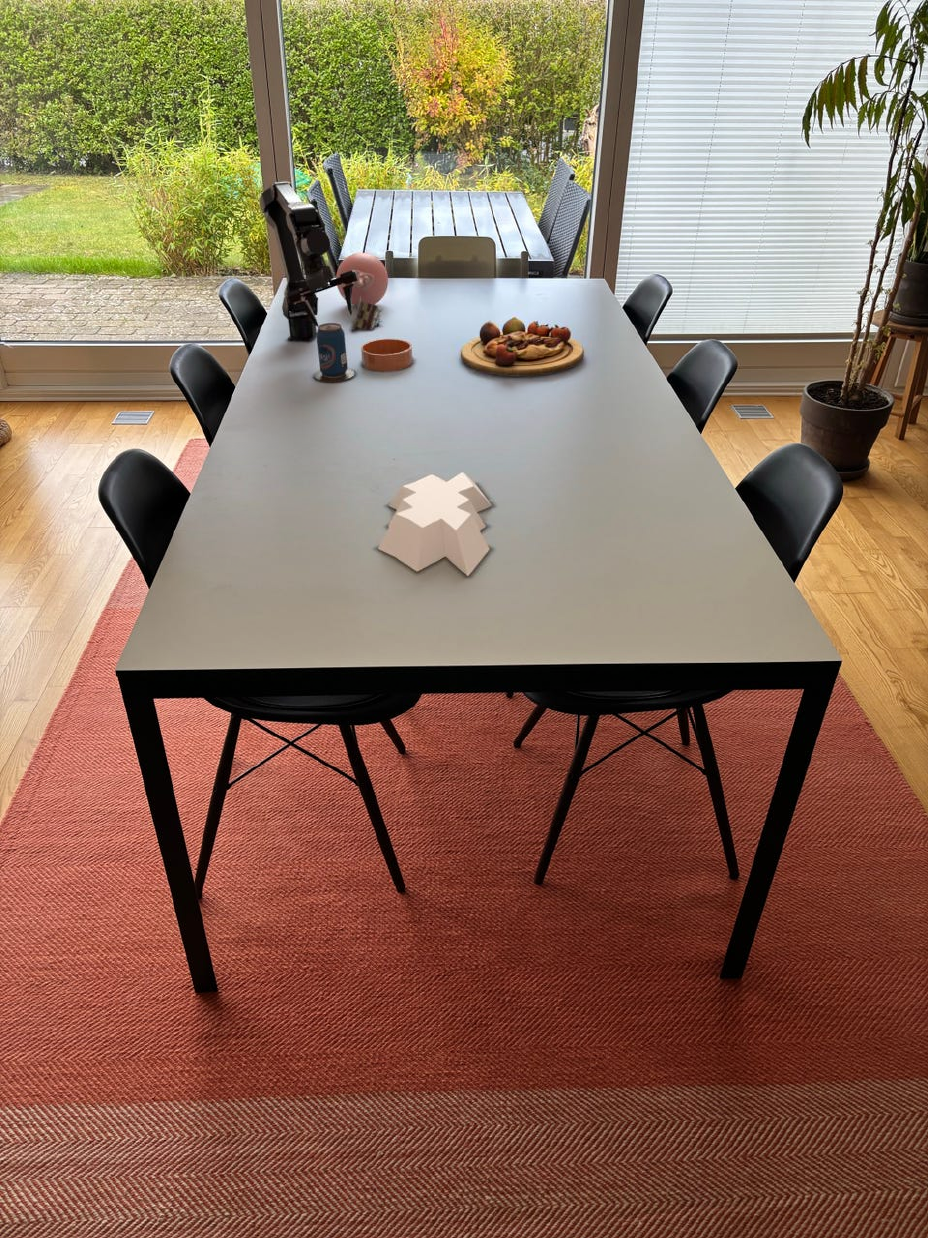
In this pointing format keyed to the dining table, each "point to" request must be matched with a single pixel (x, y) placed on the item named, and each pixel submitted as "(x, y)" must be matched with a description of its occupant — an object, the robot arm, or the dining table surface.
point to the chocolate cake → (366, 316)
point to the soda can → (332, 350)
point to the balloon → (365, 278)
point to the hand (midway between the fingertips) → (334, 320)
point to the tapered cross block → (437, 523)
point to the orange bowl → (386, 354)
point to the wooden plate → (522, 349)
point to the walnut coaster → (322, 378)
